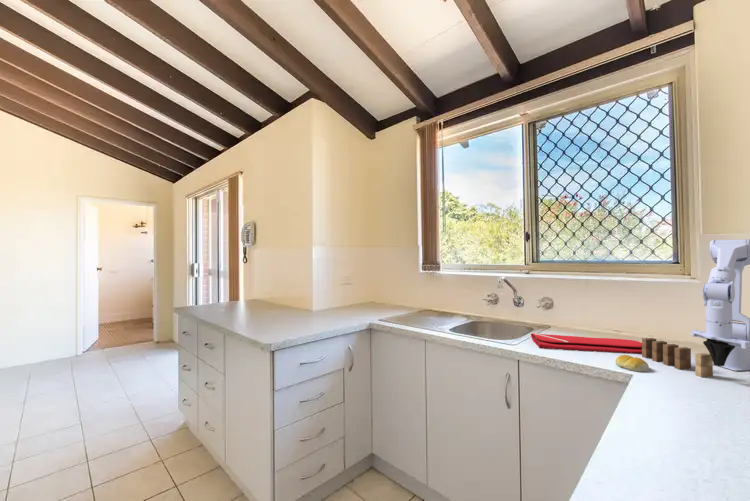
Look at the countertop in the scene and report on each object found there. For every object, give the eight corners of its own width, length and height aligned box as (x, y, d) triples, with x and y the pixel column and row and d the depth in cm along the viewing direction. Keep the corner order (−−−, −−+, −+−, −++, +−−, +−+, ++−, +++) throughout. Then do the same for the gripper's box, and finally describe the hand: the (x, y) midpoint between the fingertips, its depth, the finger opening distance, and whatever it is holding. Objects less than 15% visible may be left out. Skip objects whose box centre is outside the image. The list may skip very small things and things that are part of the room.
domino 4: (685, 367, 112) (685, 347, 112) (690, 369, 111) (690, 348, 111) (674, 368, 112) (674, 347, 112) (679, 369, 110) (679, 349, 110)
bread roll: (627, 362, 119) (627, 351, 119) (653, 371, 110) (653, 359, 110) (609, 364, 117) (608, 353, 117) (634, 373, 108) (634, 361, 108)
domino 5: (707, 374, 106) (706, 353, 106) (712, 376, 104) (712, 354, 104) (695, 375, 105) (695, 353, 105) (701, 377, 104) (700, 355, 104)
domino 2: (662, 359, 120) (662, 340, 120) (667, 361, 119) (667, 342, 119) (652, 360, 120) (652, 341, 120) (656, 361, 118) (656, 342, 118)
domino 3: (674, 363, 116) (673, 343, 116) (678, 364, 115) (678, 345, 115) (663, 364, 116) (662, 344, 116) (667, 365, 114) (667, 345, 114)
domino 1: (652, 356, 124) (652, 337, 124) (656, 357, 123) (656, 339, 123) (642, 356, 124) (641, 338, 124) (646, 358, 122) (645, 339, 122)
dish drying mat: (654, 356, 126) (654, 346, 126) (539, 350, 135) (539, 341, 135) (632, 344, 141) (632, 336, 141) (530, 339, 150) (530, 331, 150)
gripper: (682, 317, 108) (682, 358, 108) (736, 327, 93) (736, 374, 93) (701, 316, 108) (701, 357, 108) (757, 326, 94) (757, 373, 94)
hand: (719, 365), depth 101 cm, fingers closed
